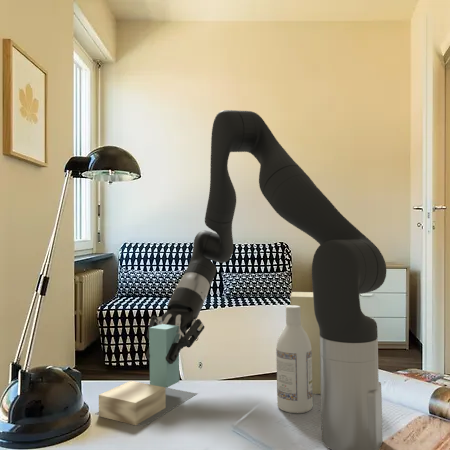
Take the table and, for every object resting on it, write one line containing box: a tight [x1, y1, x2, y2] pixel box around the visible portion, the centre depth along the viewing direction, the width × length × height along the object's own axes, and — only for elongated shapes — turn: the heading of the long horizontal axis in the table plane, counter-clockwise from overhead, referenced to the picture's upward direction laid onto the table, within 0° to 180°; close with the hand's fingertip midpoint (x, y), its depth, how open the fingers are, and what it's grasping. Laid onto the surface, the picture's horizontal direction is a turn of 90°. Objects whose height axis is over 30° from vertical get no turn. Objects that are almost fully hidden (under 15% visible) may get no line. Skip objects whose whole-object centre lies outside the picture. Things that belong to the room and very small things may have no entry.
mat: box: [94, 387, 198, 427], centre depth 87 cm, size 12×18×1 cm, turn 152°
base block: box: [98, 380, 166, 426], centre depth 83 cm, size 9×9×4 cm
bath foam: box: [275, 305, 314, 414], centre depth 85 cm, size 7×7×20 cm
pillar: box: [148, 323, 180, 388], centre depth 92 cm, size 4×4×12 cm
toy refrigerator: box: [289, 291, 321, 395], centre depth 96 cm, size 8×7×21 cm
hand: (159, 360), depth 90 cm, fingers closed on pillar, 4 cm apart
